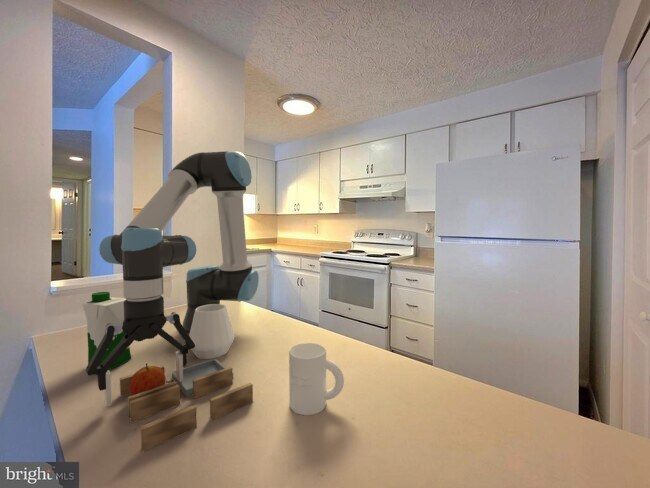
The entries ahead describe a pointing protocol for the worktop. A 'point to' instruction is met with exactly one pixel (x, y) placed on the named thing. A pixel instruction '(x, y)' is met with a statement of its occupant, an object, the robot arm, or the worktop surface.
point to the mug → (311, 378)
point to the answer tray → (197, 374)
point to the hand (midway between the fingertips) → (146, 391)
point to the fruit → (147, 379)
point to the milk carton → (98, 317)
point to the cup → (211, 331)
